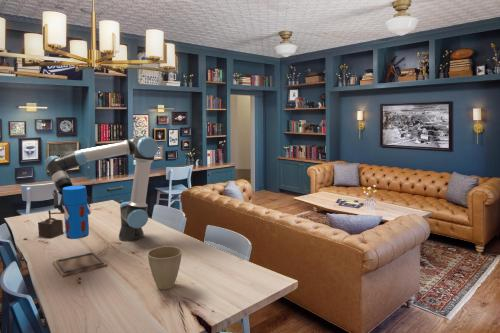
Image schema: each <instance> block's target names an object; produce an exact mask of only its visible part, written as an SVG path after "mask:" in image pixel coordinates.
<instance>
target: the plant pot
mask: <svg viewBox="0 0 500 333" xmlns="http://www.w3.org/2000/svg"><path fill="white" fill-rule="evenodd" d="M182 253H183V252H182V249H181V248H179V247H176V246H167V245H166V246H158V247H155V248H152V249H150V250H148V252H147V259H148V264H149V268H150V272H151V276H152V278H153V281H154V283H155V285H156V287H157V288H158V289H159V290H170V289H172V288H173V287H174V285H175V283H176V280H177V278H178V274H179V271H180V266H181V261H182Z"/></svg>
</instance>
